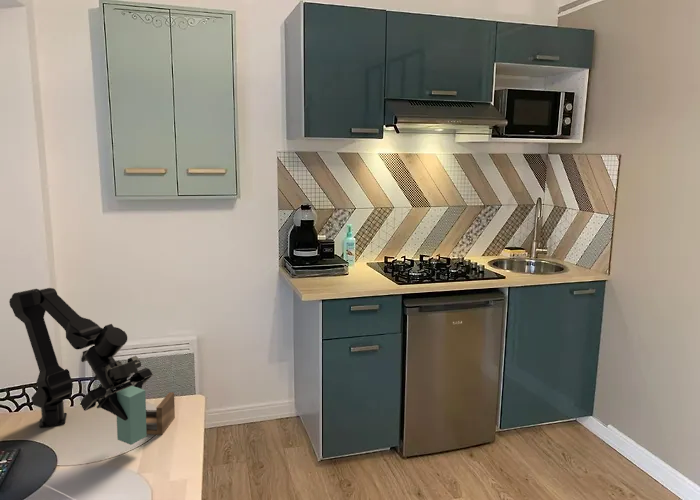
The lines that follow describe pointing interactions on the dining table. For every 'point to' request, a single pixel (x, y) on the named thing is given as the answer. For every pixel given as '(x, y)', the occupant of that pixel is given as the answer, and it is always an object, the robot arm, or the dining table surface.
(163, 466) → the dining table surface
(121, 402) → the teal block
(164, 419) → the wall board cradle
